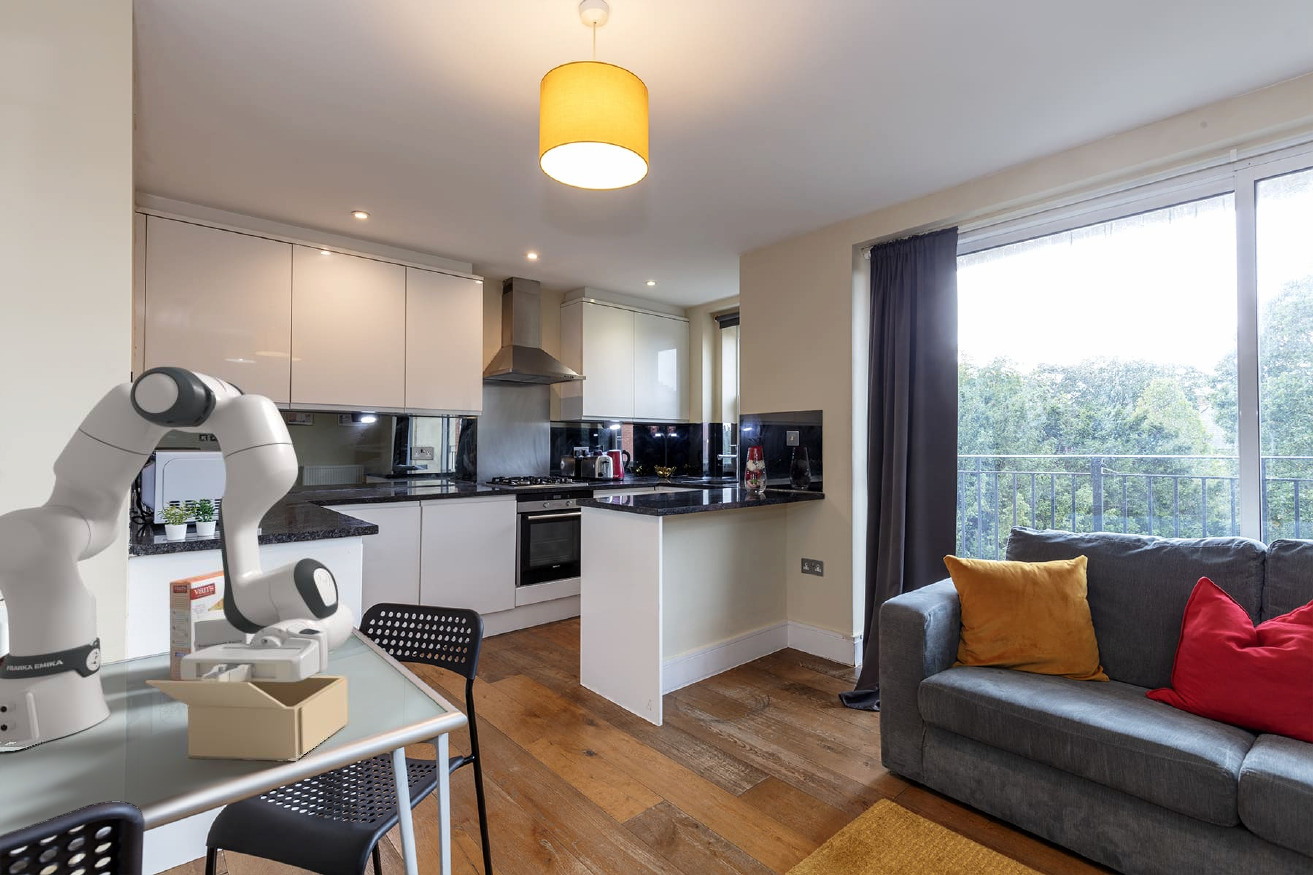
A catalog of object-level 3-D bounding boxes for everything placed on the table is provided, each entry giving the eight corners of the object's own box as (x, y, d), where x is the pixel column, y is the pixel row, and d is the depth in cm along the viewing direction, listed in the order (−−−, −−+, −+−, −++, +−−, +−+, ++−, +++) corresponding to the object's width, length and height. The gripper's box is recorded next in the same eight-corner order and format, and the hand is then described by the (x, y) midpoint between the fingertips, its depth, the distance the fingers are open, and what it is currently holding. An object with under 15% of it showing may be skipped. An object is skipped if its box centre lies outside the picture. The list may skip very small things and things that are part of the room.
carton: (185, 757, 95) (184, 706, 96) (252, 719, 109) (251, 673, 109) (298, 761, 93) (297, 708, 93) (352, 721, 107) (351, 675, 107)
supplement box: (208, 682, 127) (206, 610, 128) (259, 675, 131) (257, 604, 131) (194, 698, 119) (192, 621, 119) (248, 690, 122) (246, 615, 123)
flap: (189, 705, 95) (145, 682, 88) (190, 703, 95) (146, 680, 88) (285, 708, 93) (247, 684, 86) (285, 706, 93) (248, 681, 86)
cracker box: (192, 683, 127) (190, 582, 127) (168, 681, 128) (166, 581, 129) (250, 659, 141) (248, 568, 141) (228, 658, 142) (226, 568, 142)
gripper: (222, 631, 104) (145, 659, 90) (334, 631, 102) (273, 661, 88) (223, 668, 104) (146, 702, 90) (335, 670, 102) (274, 705, 88)
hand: (210, 682), depth 89 cm, fingers closed
